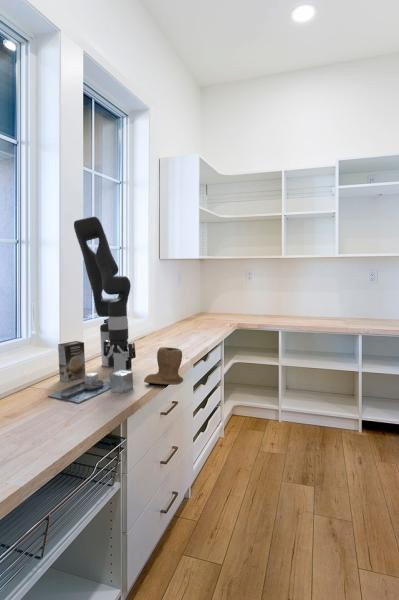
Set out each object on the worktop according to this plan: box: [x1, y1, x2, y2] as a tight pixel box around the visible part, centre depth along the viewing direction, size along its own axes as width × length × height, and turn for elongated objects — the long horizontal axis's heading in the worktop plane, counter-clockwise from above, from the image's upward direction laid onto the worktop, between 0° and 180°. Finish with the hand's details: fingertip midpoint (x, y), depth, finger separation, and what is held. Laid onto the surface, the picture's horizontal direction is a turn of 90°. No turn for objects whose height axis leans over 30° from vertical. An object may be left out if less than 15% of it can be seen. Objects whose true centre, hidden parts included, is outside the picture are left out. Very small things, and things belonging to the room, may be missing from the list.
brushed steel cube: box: [109, 370, 134, 395], centre depth 147 cm, size 6×6×7 cm
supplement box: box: [113, 347, 133, 373], centre depth 164 cm, size 7×7×13 cm
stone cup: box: [143, 346, 184, 386], centre depth 154 cm, size 15×12×15 cm
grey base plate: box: [47, 372, 111, 405], centre depth 147 cm, size 22×16×6 cm
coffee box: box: [57, 340, 86, 384], centre depth 162 cm, size 9×6×16 cm
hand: (119, 368), depth 146 cm, fingers open, 8 cm apart
